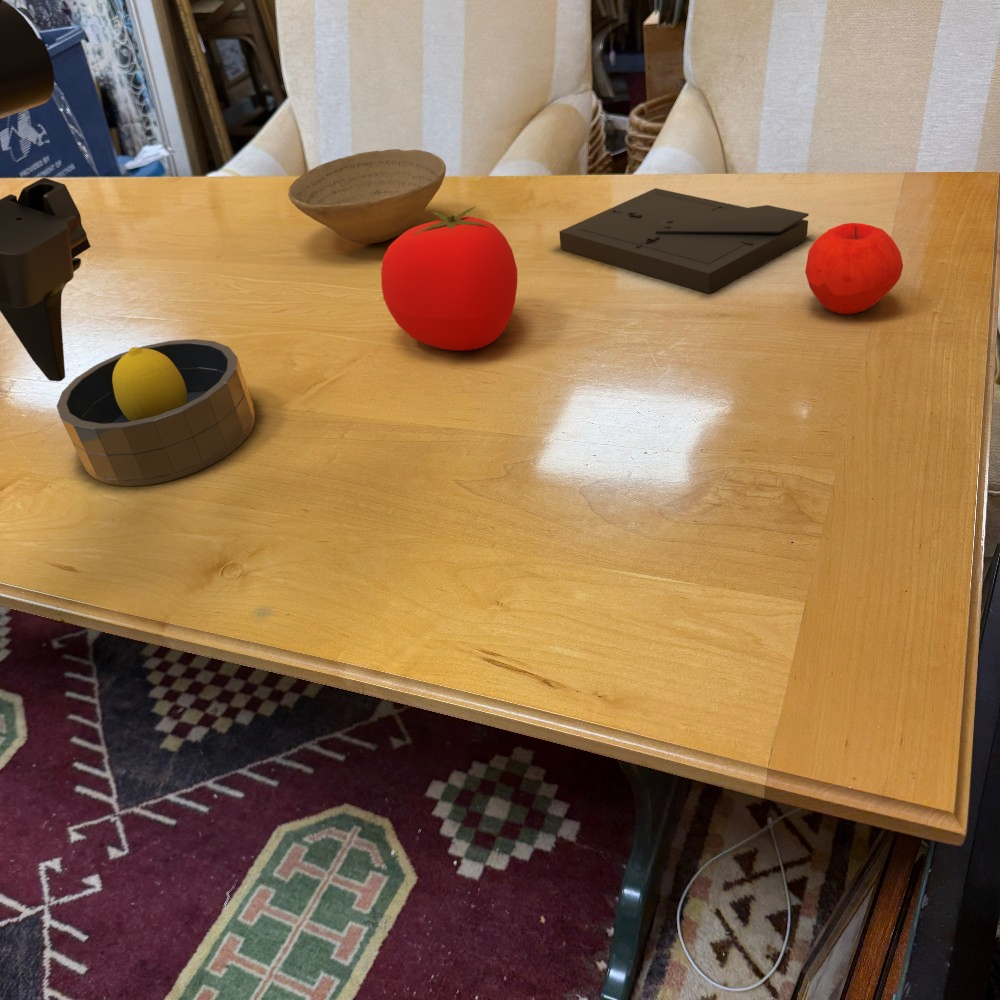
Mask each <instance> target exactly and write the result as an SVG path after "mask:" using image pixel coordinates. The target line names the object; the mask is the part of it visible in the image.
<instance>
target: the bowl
mask: <svg viewBox="0 0 1000 1000" xmlns="http://www.w3.org/2000/svg"><path fill="white" fill-rule="evenodd" d="M446 171H447V165H446V163H445V161H444V160H443V159H442V158H441V157H440V156H438V155H436V154H434V153H432V152H430V151H425V150H419V149H409V150H407V149H406V150H402V149H400V148H396V149H395V148H393V149H392V148H391V149H385V150H372V151H365V152H359V153H355V154H352V155H347V156H345V157H339V158H336V159H334V160H331V161H330V160H329V161H328V162H324V163H322V164H319V165H317V166H315V167H314V168H313V167H312V168H311V169H309V170H308V171H306V172H304V173H303V174H301V175H300V176H299V177H297V178H296V179H295V180H294V181H293V182H292V183H291V185H289V187H288V194H287V195H288V198H289V200H290V202H291V203H292V204H293V205H294V206H295V207H296V208H297V209H298V210H299V211H300V212H302V213H303V214H304V215H306V216H307V217H309V218H311V219H313V220H314V221H316V222H317V223H319V224H321V225H323V226H325V227H327V228H329V229H330V230H332V231H333V232H334V233H336V234H338V235H339V236H340V237H342V238H343V239H344V240H346V241H349V242H352V243H356V244H363V245H367V244H369V245H370V244H376V243H383V242H387V241H389V240H391V239H394V238H396V237H397V236H400V235H402V234H403V233H404V232H406V231H407V230H409V229H410V227H412V225H414V224H415V223H416V221H418V220H419V218H420V217H421V215H422V214H423V213H424V212H425V210H426V209H427V207H428V205H429V204H430V203H431V201H432V200H433V199H434V197H435V195H436V194H437V193H438V191H439V190H440V188H441V186H442V185H443V182H444V180H445V177H446Z"/></svg>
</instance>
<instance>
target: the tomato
mask: <svg viewBox="0 0 1000 1000" xmlns="http://www.w3.org/2000/svg"><path fill="white" fill-rule="evenodd" d="M476 207H477V206H476V205H474V206H473V207H471V208H469V209H466V210H464V211H462V212H460V213H458V214H456V215H454V214H453V213H450V214H448V215H446V214H443V213H439V212H435V211H432V214H434V215H435V216H437V217H439V218H440V219H438V220H434V221H429V222H425V223H422V224H418V225H416V226H413V227H411V228H408V229H407V230H406V231H404V232H403V233H401V234H400V235H398V237H397V238H395V240H394V241H393V242H392V243H390V245H389V246H388V247H387V250H386V251H385V253H384V255H383V258H382V263H381V268H380V269H381V270H380V277H381V278H380V280H381V283H380V284H381V292H382V296H383V297H382V298H383V300H384V303H385V305H386V307H387V310H388V312H389V313H390V315H391V317H392V318H393V319H394V321H395V323H396V324H397V326H398V327H399V328H401V329H402V331H403V332H405V333H406V334H407V335H408V336H410V338H412V339H413V340H416V341H418V342H420V343H423V344H425V345H428V346H430V347H434V348H437V349H441V350H446V351H456V352H459V351H472V350H478V349H481V348H485V347H487V346H488V345H490V344H491V343H493V342H494V341H496V340H497V339H498V338H499V337H500V336H501V335H502V334H503V332H504V331H505V329H506V327H507V326H508V323H509V322H510V320H511V317H512V315H513V311H514V308H515V303H516V296H517V290H518V267H517V263H516V259H515V256H514V252H513V248H512V247H511V245H510V243H509V241H508V240H507V238H506V237H505V235H504V234H503V233H502V231H500V230H499V228H498V227H497V226H496V225H495V224H493V223H492V222H490V221H488V220H484V219H481V218H478V217H474V216H466V215H467V214H468V213H469V212H471V211H472V210H474V209H475V208H476Z"/></svg>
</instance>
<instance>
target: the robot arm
mask: <svg viewBox="0 0 1000 1000" xmlns="http://www.w3.org/2000/svg"><path fill="white" fill-rule="evenodd" d="M54 91H55V73H54V66H53V63H52V59H51V55H50V52H49V50H48V48H47V46H46V43H45V41H44V40H43V39H42V38H40V37H39V36H38V35H37V33H36V31H35V30H34V27H32V25H31V24H30V22H28V20H27V19H26V17H24V15H23V14H22V13H21V12H20V11H19V10H18V9H16V8H15V7H14V6H13V5H11V4H10V3H8V2H7V1H5V0H0V120H1V119H4V118H7V117H9V116H12V115H15V114H18V113H21V112H24V111H27V110H30V109H32V108H36V107H39V106H41V105H44V104H46V103H48V102H49V100H50V99H51V98H52V96H53V93H54ZM91 246H92V245H91V244H90V241H89V239H88V235H87V231H86V230H85V229H84V227H83V224H82V217H81V213H80V210H79V209H78V207H77V205H76V203H75V201H74V198H73V197H72V195H71V193H70V191H69V189H68V187H67V185H66V184H65V183H62V182H59V181H56V180H53V179H51V178H47V177H42V178H40V179H38V180H37V181H34V182H32V183H30V184H29V185H27V186H25V187H22V190H21V191H20V193H19V196H18V197H17V195H14V194H12V193H10V194H8V195H6V196H4V197H2V198H0V314H1V315H2V316H3V317H4V319H5V320H6V322H7V324H8V325H9V327H10V328H11V330H12V331H13V333H14V334H15V336H16V337H17V338H18V340H19V341H20V343H21V345H22V346H23V348H24V349H25V351H26V352H27V354H28V355H29V357H30V358H31V360H32V361H33V363H34V364H35V365H36V366H37V367H38V369H39V370H40V371H41V372H42V374H43V375H44V376H45V378H46V379H47V380H48V381H50V382H62V381H63V380H65V378H66V368H65V355H64V354H65V353H64V339H63V324H62V323H63V322H62V294H63V291H64V289H65V288H66V286H67V284H68V283H69V282H71V281H72V280H73V278H74V275H75V274H74V273H75V272H76V271H77V270H79V269H80V267H81V265H82V258H80V257H78V256H79V255H81V254H82V253H84V252H85V251H87V250H89V249H90V248H91Z"/></svg>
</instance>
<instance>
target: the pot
mask: <svg viewBox="0 0 1000 1000" xmlns="http://www.w3.org/2000/svg"><path fill="white" fill-rule="evenodd" d="M138 348H140V349H151V350H155V351H158V352H160V353H162V354H164V355H165V356H167V357H168V358H169V359H170V360H171V361H172V362H173V364H174V365H175V366H176V368H177V369H178V371H179V372H180V374H181V376H182V378H183V380H184V383H185V386H186V390H187V404H185V405H183V406H181V407H179V408H176V409H173V410H171V411H168V412H165V413H162V414H159V415H156V416H154V417H149V418H145V419H140V420H135V421H130V420H129V419H128V418H127V417H126V416H125V415H124V414H123V412H122V411H121V409H120V408H119V406H118V403H117V401H116V398H115V394H114V389H113V381H112V377H113V371H114V368H115V366H116V364H117V362H118V361H119V360H120V359H121V357H122V356H124V355H125V354H126V353H128V352H129V350H127V351H124V352H121V353H119V354H116V355H114V356H112V357H110V358H108V359H105V360H104V361H103V360H102V361H101V362H99V363H97V364H95V365H94V366H92V367H90V368H89V369H88V370H86V371H84V372H82V373H81V374H80V375H79V376H77V377H75V378H74V379H73V380H72V381H71V382H70V383H69V384H68V385H67V386H66V387H64V389H63V391H61V394H60V396H59V399H58V401H57V403H56V409H57V412H58V415H59V418H60V419H61V422H62V425H63V426H64V428H65V430H66V432H67V434H68V437H69V439H70V441H71V443H72V445H73V447H74V449H75V451H76V453H77V455H78V457H79V459H80V461H81V464H82V466H83V468H85V470H86V472H87V473H88V475H90V476H91V477H92V478H93V479H95V480H97V481H99V482H101V483H105V484H108V485H114V486H117V487H118V486H119V487H140V486H151V485H156V484H157V485H158V484H161V483H166V482H171V481H174V480H177V479H178V480H179V479H181V478H183V477H187V476H189V475H192V474H194V473H197V472H200V471H201V470H204V469H206V468H208V467H210V466H212V465H214V464H216V463H218V462H219V461H221V460H222V459H224V458H225V457H227V456H228V455H230V454H231V453H233V452H234V451H235V450H236V449H237V448H239V447H240V446H241V444H243V443H244V442H245V440H246V439H247V438H248V437H249V435H250V433H251V432H252V430H253V428H254V426H255V421H256V413H255V410H254V403H253V400H252V397H251V393H250V392H249V388H248V385H247V383H246V379H245V376H244V374H243V370H242V367H241V363H240V360H239V358H238V356H237V355H236V353H235V352H234V351H233V349H232V348H231V347H229V346H227V345H225V344H223V343H220V342H217V341H214V340H209V339H208V340H206V339H197V338H190V339H189V338H188V339H176V340H175V339H174V340H167V341H166V340H165V341H162V342H157V343H151V344H147V345H143V346H139V347H138Z"/></svg>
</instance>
